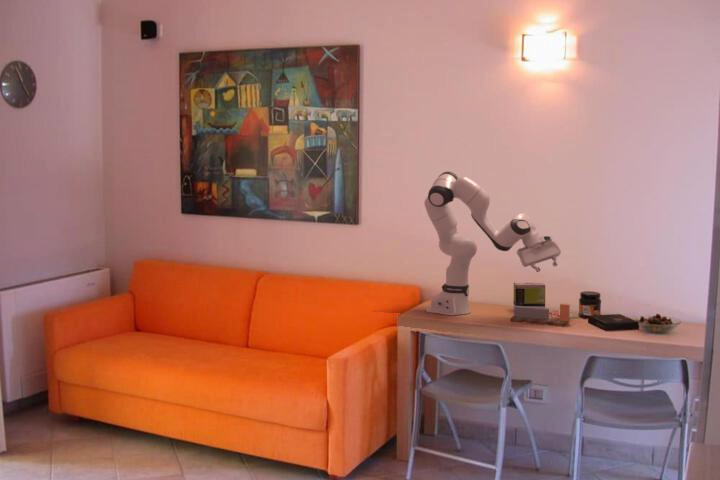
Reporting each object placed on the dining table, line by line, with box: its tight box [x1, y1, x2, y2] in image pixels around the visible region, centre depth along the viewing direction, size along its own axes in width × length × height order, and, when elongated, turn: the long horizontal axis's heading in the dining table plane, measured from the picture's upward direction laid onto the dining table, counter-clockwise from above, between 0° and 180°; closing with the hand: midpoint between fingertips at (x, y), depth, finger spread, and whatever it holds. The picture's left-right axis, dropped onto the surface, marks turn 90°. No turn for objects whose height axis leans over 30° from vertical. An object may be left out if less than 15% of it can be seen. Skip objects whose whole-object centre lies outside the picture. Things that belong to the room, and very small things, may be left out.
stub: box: [559, 302, 571, 322], centre depth 367 cm, size 4×2×8 cm, turn 65°
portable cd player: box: [587, 313, 640, 332], centre depth 364 cm, size 16×17×4 cm
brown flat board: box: [510, 314, 570, 327], centre depth 373 cm, size 26×10×2 cm, turn 65°
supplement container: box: [578, 290, 602, 320], centre depth 382 cm, size 10×10×12 cm
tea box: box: [512, 281, 546, 311], centre depth 395 cm, size 15×10×15 cm, turn 84°
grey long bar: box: [514, 306, 550, 320], centre depth 374 cm, size 16×2×5 cm, turn 65°
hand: (547, 268), depth 368 cm, fingers open, 8 cm apart
